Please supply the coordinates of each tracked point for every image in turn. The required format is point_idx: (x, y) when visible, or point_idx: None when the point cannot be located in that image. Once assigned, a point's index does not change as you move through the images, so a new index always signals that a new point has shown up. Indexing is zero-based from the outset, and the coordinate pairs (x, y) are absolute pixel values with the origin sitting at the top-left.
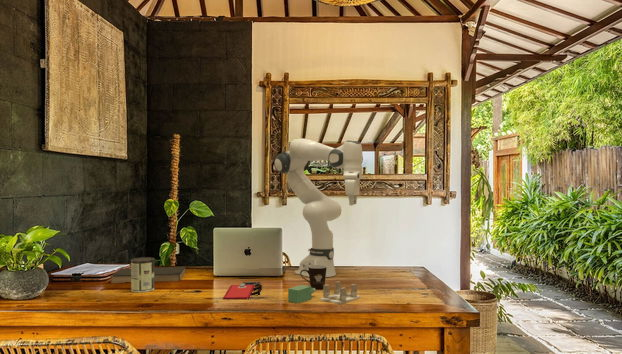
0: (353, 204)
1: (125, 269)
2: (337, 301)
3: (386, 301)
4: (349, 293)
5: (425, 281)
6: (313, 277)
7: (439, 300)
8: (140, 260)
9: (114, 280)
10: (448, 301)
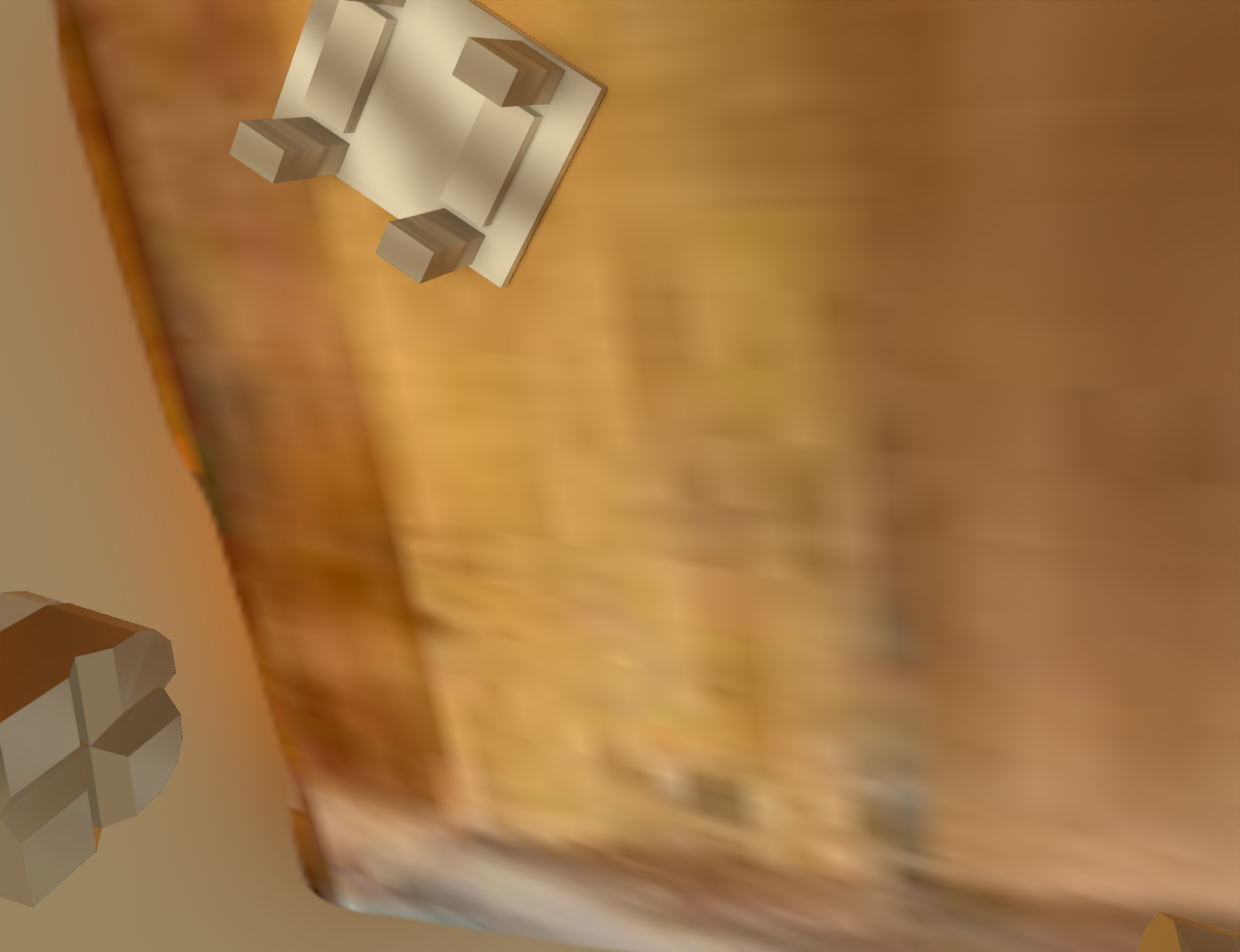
0: (139, 788)
1: None
2: (288, 98)
3: (442, 487)
4: (473, 198)
5: None
6: None
7: (538, 827)
8: None
9: None
10: (524, 868)
